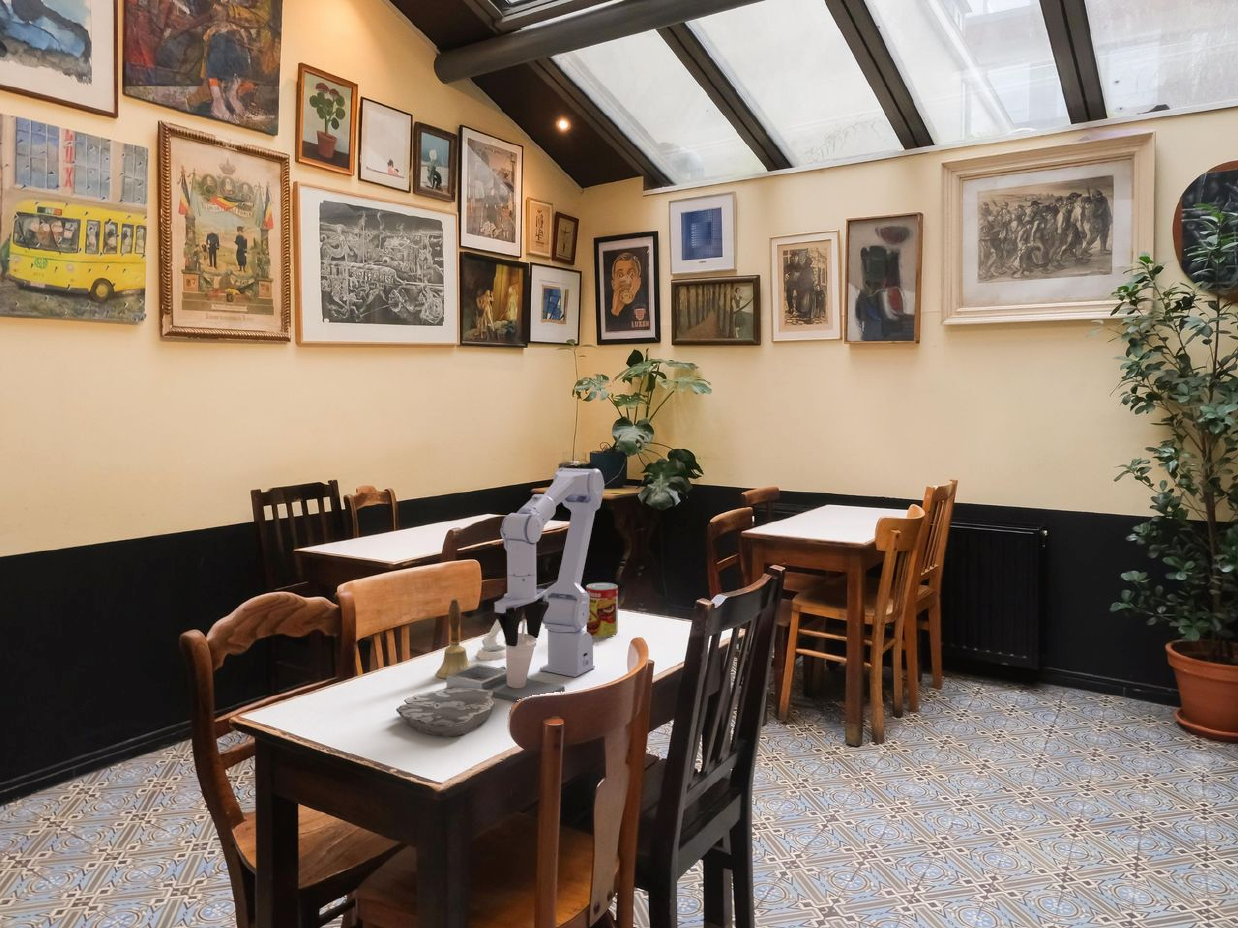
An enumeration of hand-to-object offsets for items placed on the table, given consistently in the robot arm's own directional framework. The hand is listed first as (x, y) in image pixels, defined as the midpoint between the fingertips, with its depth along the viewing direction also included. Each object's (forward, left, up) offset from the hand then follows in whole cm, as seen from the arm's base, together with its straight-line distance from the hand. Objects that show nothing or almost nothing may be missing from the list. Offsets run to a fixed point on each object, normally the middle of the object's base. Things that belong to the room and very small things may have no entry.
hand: (522, 641), depth 173 cm
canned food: (+11, -46, -11) cm, 48 cm away
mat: (-1, 0, -10) cm, 10 cm away
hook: (+22, -17, -11) cm, 30 cm away
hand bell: (+20, -2, -11) cm, 23 cm away
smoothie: (+2, 0, -9) cm, 10 cm away
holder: (+10, -1, -10) cm, 15 cm away
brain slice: (+3, +19, -11) cm, 22 cm away
